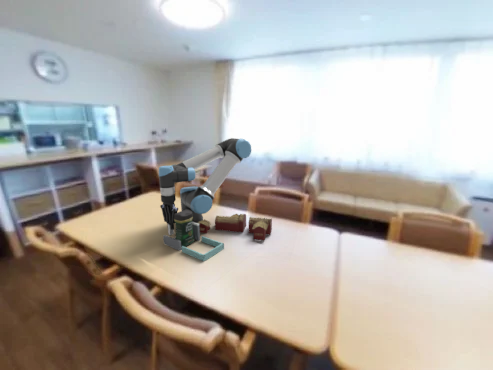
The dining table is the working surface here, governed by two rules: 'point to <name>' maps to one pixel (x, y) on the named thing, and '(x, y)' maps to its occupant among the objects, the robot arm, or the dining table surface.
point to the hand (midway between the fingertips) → (171, 234)
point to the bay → (177, 244)
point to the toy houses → (239, 225)
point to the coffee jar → (184, 227)
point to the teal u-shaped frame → (203, 257)
